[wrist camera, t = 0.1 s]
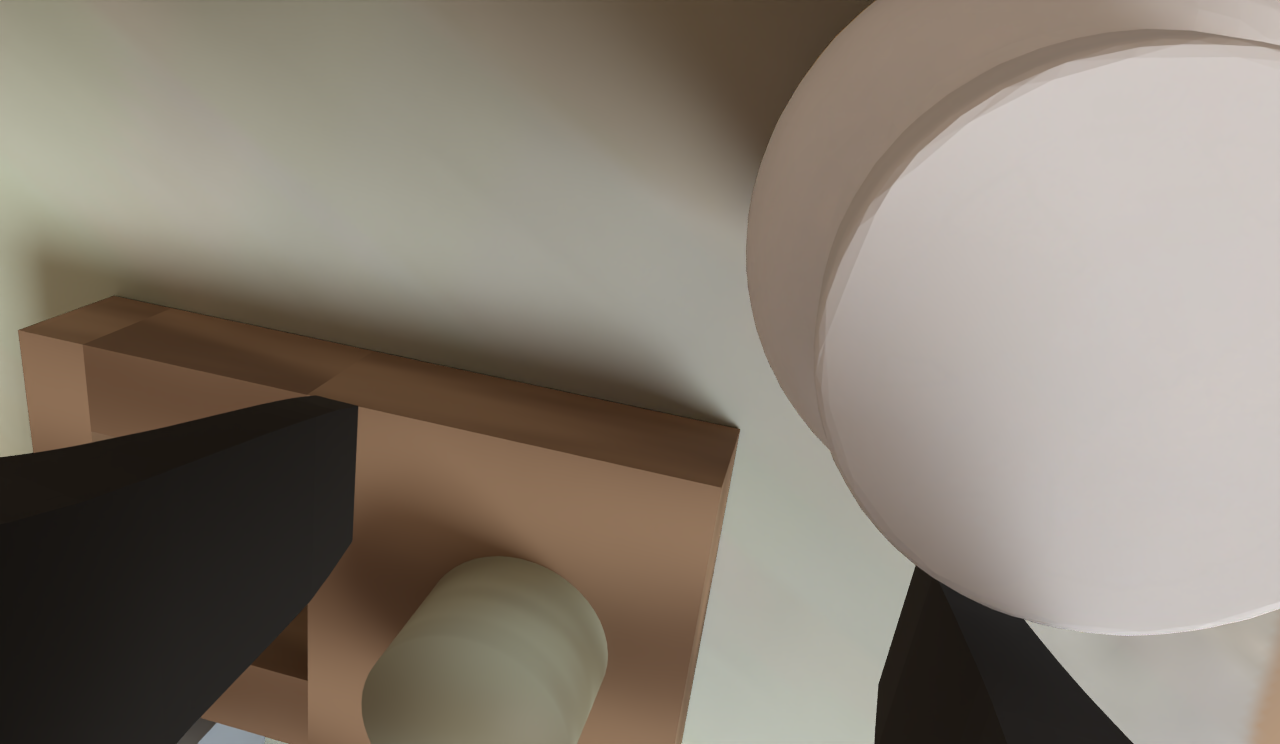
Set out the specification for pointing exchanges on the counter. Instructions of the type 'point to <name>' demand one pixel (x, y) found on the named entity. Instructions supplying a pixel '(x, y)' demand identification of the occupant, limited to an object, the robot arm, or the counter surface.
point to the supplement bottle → (1042, 298)
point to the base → (437, 533)
